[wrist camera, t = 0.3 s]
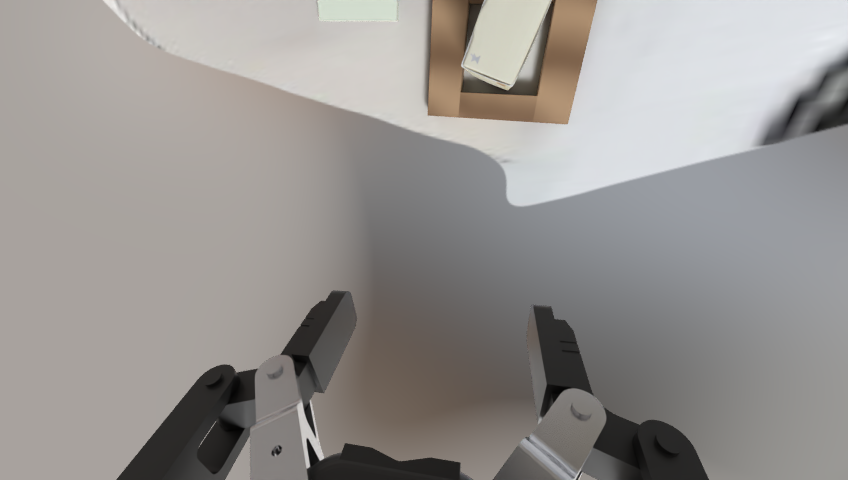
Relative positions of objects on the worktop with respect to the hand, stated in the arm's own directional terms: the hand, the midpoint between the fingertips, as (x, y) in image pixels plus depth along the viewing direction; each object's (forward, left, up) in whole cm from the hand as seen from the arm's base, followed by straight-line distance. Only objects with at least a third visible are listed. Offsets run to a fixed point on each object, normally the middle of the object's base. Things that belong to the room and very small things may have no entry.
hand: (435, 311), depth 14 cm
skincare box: (-12, +1, -28) cm, 30 cm away
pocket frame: (-12, +1, -28) cm, 30 cm away
